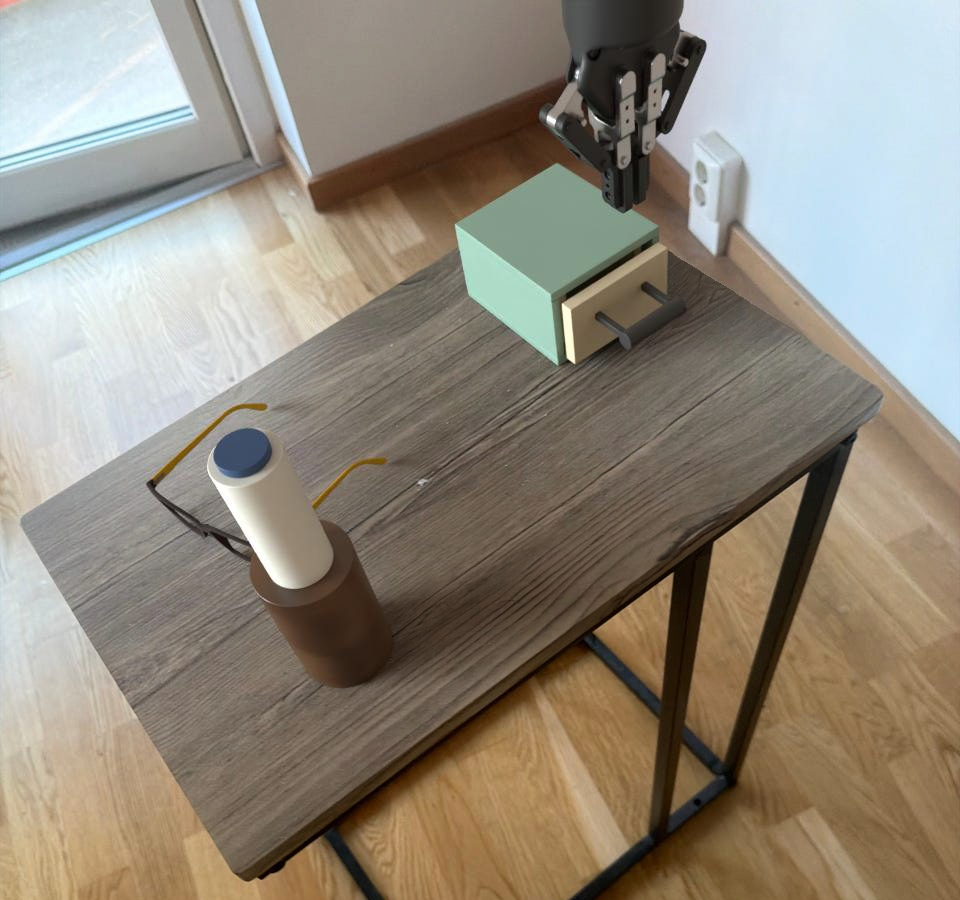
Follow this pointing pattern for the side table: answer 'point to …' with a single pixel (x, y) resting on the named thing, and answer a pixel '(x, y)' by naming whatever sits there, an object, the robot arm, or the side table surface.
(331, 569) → the stand
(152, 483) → the eyeglasses
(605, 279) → the drawer
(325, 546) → the tube
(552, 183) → the cabinet
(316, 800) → the side table surface
